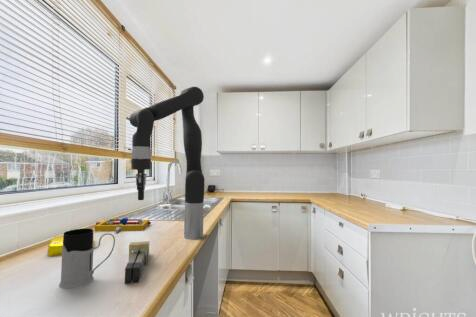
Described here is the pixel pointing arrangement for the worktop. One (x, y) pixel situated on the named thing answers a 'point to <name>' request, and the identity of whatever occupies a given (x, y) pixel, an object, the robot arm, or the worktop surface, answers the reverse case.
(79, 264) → the glass holder
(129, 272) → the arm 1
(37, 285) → the worktop surface
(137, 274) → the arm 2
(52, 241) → the element tile
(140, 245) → the tan framed block
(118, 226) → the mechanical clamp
